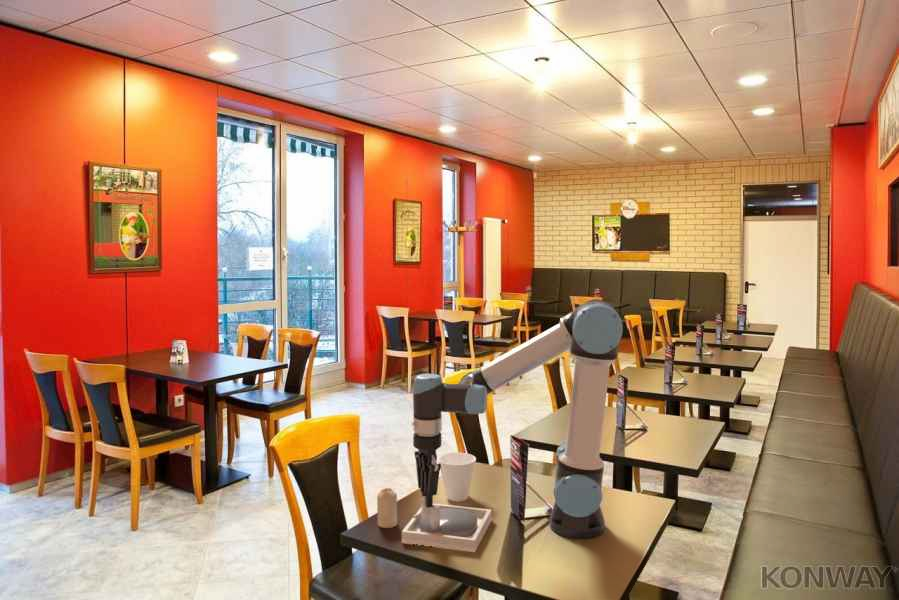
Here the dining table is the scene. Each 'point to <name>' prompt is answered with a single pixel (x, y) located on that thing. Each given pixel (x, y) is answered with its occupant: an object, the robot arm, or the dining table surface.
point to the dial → (449, 522)
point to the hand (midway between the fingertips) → (427, 516)
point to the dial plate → (470, 543)
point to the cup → (457, 474)
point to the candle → (387, 508)
